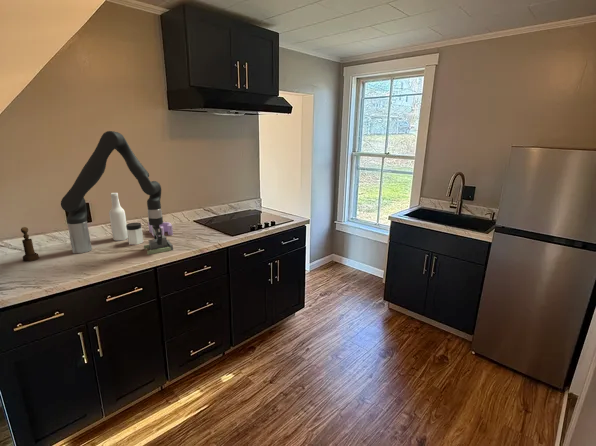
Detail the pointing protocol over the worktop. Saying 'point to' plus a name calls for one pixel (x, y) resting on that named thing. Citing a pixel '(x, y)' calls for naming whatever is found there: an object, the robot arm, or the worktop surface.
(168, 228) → the clip
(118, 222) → the alcohol
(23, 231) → the brown chess pawn
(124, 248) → the worktop surface
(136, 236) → the jar
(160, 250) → the deck socket
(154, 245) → the upright grey block
